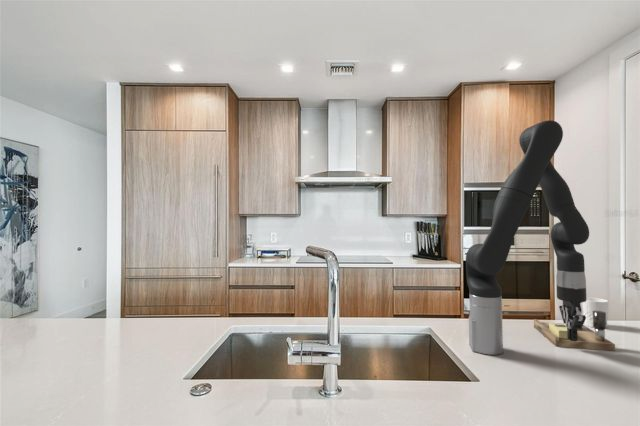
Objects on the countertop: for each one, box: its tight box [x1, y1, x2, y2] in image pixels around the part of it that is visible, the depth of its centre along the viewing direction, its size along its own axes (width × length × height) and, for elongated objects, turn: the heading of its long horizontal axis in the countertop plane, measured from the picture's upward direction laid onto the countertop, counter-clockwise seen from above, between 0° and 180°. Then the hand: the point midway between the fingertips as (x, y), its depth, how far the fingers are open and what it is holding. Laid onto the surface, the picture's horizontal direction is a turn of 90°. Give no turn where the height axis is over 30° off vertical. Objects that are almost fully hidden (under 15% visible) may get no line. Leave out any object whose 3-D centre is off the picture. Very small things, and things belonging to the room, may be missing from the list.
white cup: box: [581, 296, 609, 329], centre depth 128 cm, size 8×8×10 cm
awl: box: [592, 311, 607, 342], centre depth 108 cm, size 3×3×9 cm
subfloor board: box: [533, 318, 616, 352], centre depth 116 cm, size 16×20×3 cm
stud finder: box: [548, 322, 568, 339], centre depth 113 cm, size 5×8×3 cm, turn 165°
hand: (572, 340), depth 106 cm, fingers closed
